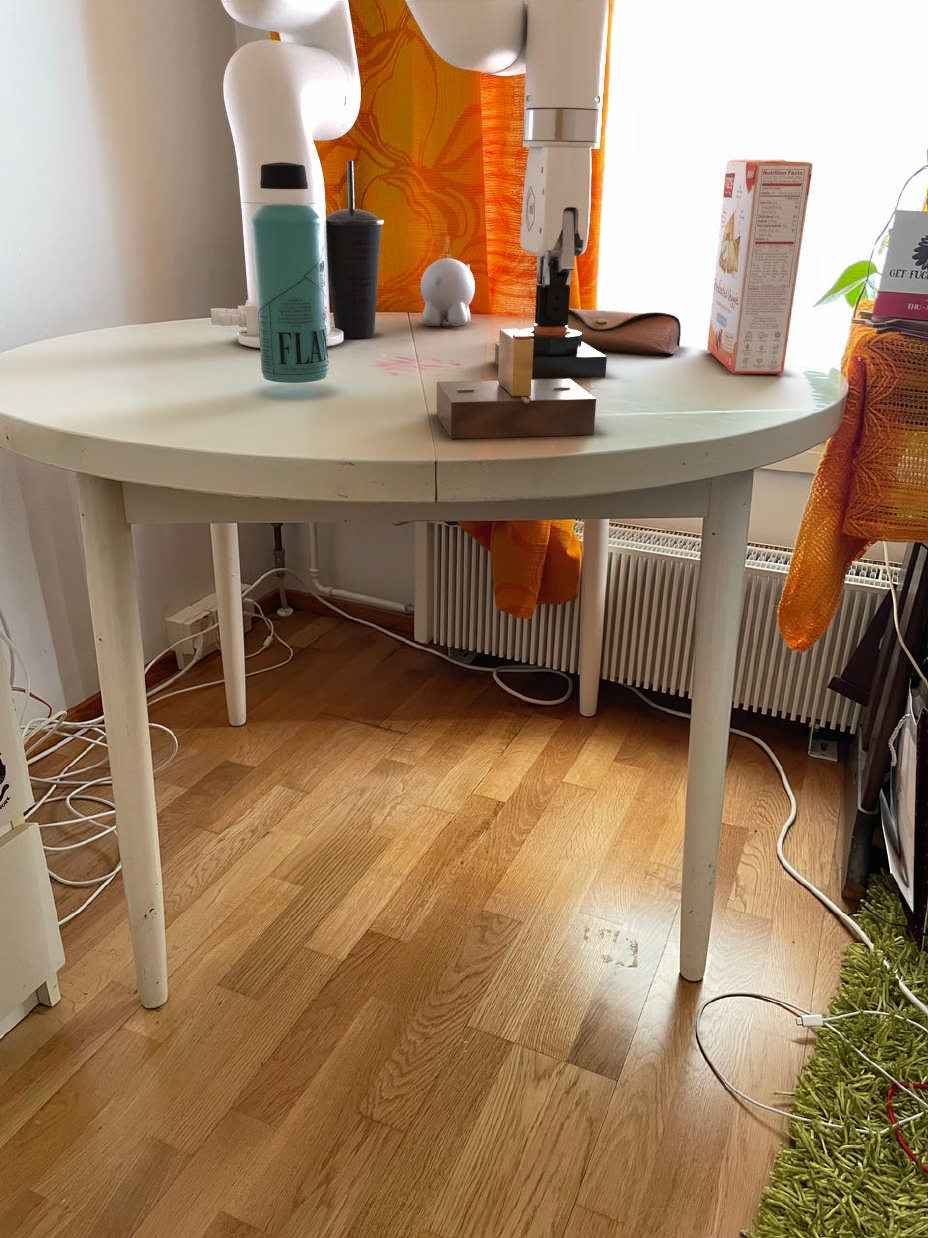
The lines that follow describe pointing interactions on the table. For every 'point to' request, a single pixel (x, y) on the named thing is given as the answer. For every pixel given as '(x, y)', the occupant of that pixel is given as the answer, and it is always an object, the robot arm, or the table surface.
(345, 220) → the drinking cup
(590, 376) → the block
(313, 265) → the beverage bottle
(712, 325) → the cracker box
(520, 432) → the brown wooden base
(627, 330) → the sunglasses case
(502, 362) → the tan cardboard box
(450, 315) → the round bodied animal figurine
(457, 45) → the robot arm
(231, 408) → the table surface
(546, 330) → the bell button
